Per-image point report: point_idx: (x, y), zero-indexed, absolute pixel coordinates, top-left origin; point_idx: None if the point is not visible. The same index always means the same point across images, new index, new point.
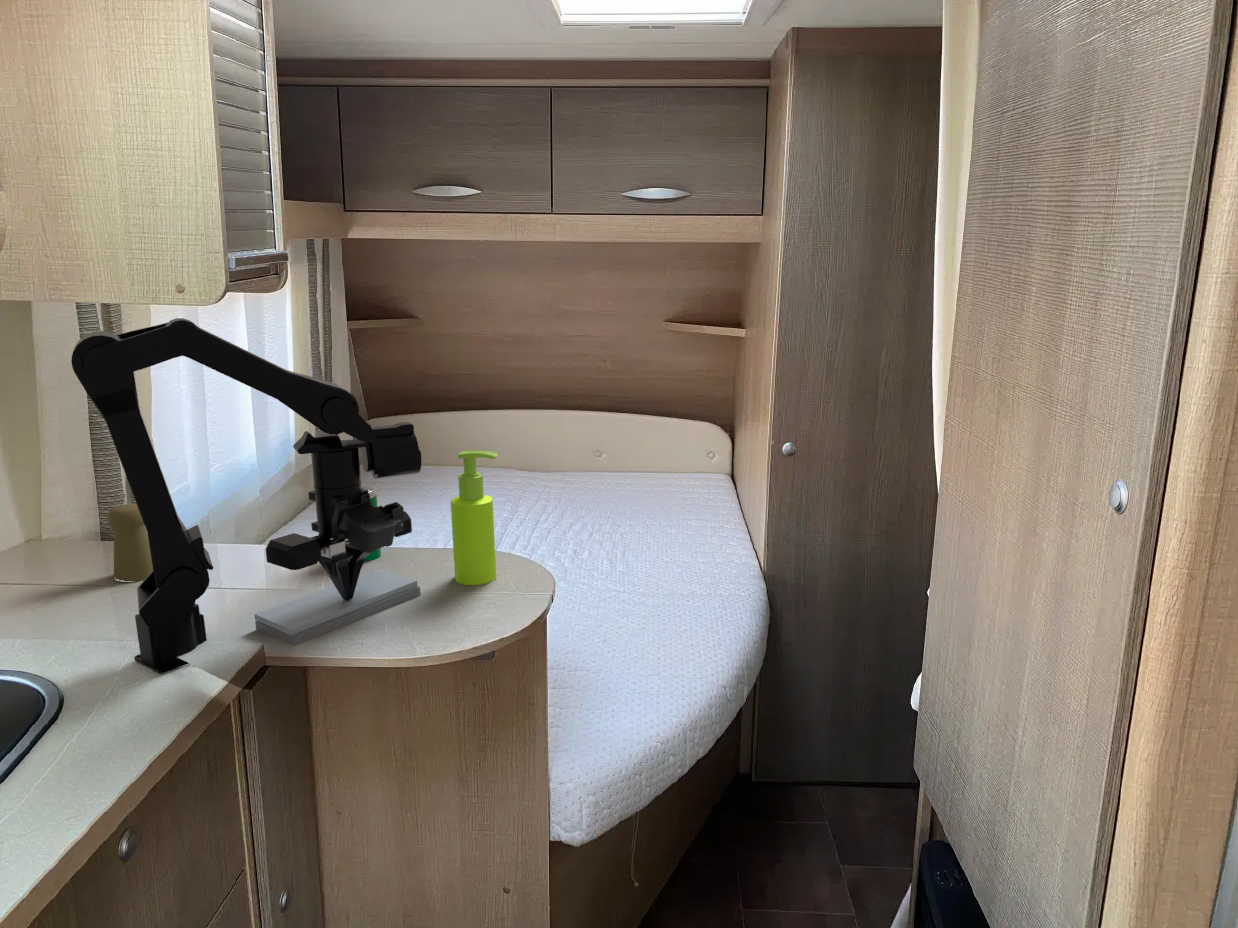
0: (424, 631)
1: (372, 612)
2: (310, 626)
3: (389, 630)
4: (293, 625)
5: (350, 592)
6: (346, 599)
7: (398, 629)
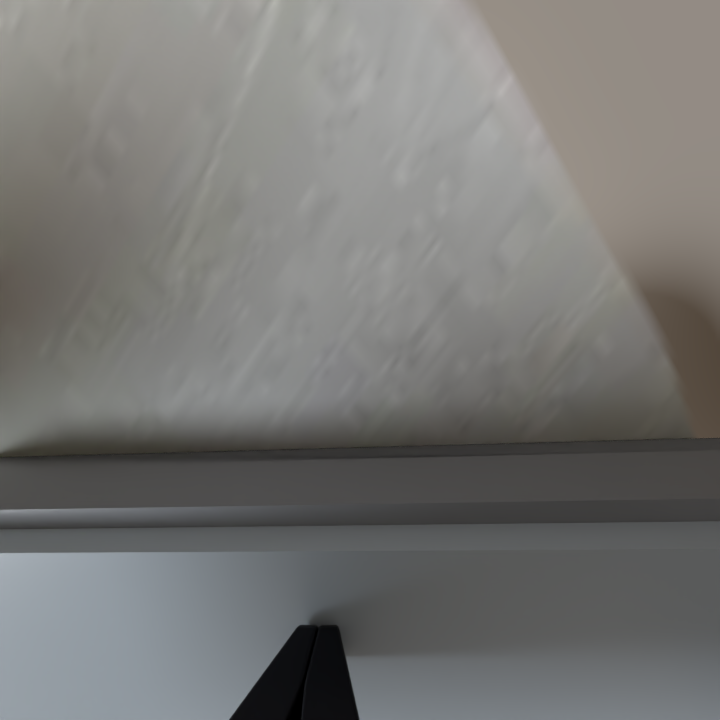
0: (132, 157)
1: (248, 481)
2: (687, 526)
3: (257, 323)
4: None
5: (308, 662)
6: (340, 634)
7: (218, 297)
